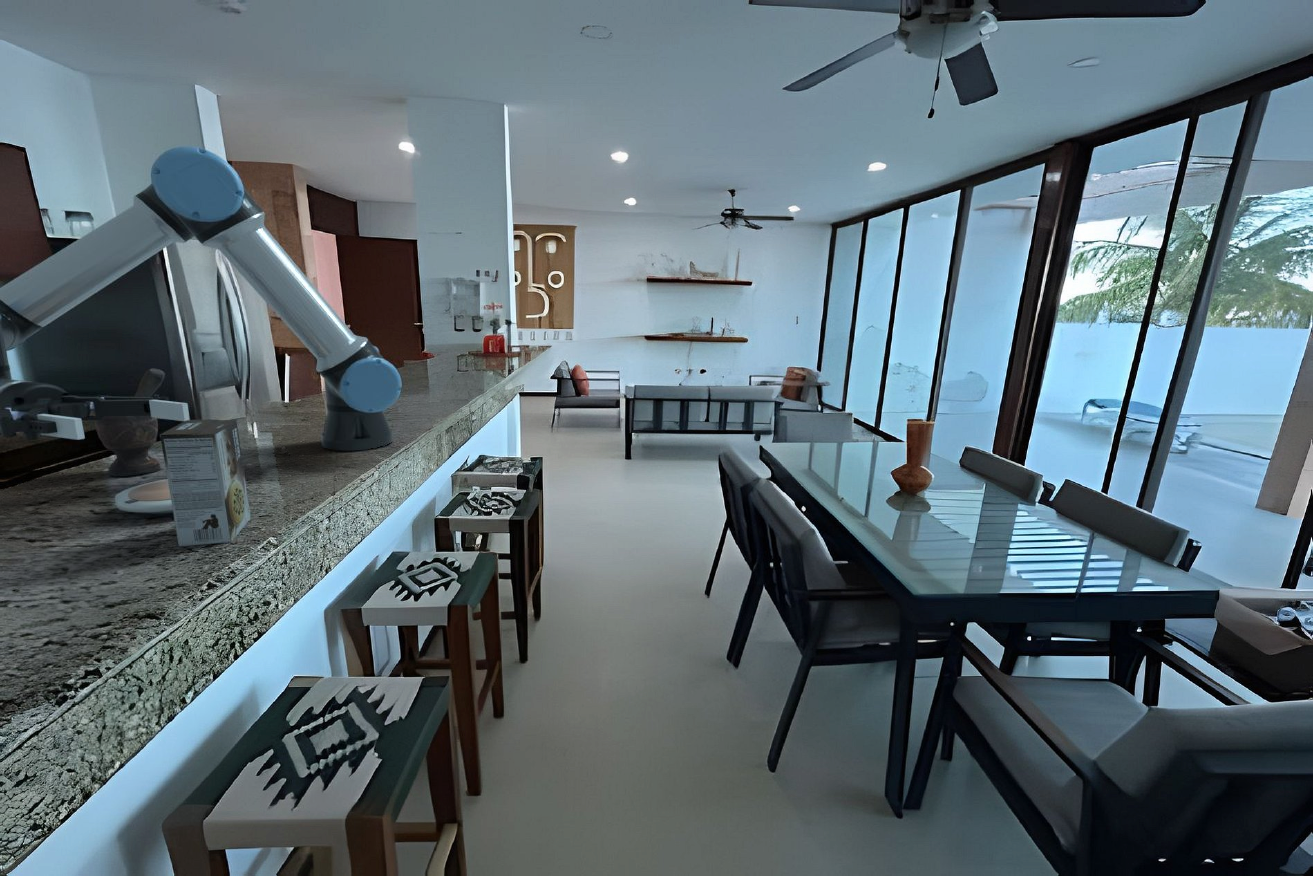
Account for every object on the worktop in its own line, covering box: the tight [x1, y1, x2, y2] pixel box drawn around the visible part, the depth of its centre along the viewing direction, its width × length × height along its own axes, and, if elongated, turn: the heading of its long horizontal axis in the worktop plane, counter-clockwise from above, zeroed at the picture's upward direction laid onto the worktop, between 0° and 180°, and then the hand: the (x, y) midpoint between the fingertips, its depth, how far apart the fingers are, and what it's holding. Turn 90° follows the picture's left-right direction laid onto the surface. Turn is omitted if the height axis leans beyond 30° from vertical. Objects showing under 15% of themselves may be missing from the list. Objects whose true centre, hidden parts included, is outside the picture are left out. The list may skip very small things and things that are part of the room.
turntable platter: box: [114, 478, 173, 513], centre depth 90 cm, size 14×14×1 cm
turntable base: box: [135, 510, 174, 519], centre depth 90 cm, size 10×10×2 cm
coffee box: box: [159, 418, 252, 547], centre depth 80 cm, size 9×6×16 cm
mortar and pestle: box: [91, 367, 166, 477], centre depth 104 cm, size 12×9×20 cm
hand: (137, 420), depth 79 cm, fingers open, 13 cm apart
